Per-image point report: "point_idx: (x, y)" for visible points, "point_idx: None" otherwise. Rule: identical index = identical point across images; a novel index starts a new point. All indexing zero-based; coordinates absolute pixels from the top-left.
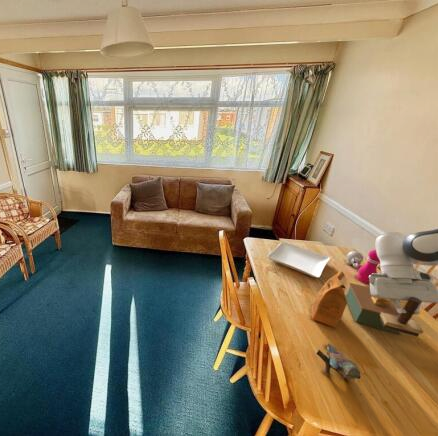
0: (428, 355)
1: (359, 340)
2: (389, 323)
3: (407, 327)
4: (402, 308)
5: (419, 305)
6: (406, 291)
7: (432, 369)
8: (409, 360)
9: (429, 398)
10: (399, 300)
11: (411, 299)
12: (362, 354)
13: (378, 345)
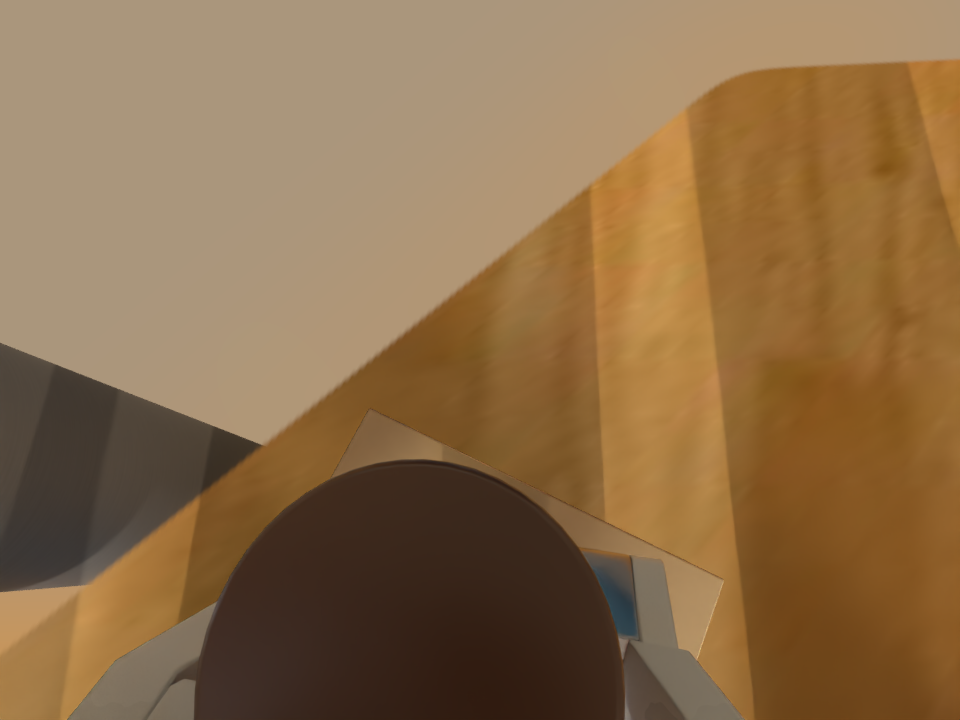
0: (298, 446)
1: (747, 595)
2: (683, 562)
3: (506, 476)
4: (647, 626)
5: (179, 645)
6: None
7: (390, 348)
8: (481, 410)
9: (601, 193)
10: None
11: (613, 707)
12: (815, 460)
13: None
